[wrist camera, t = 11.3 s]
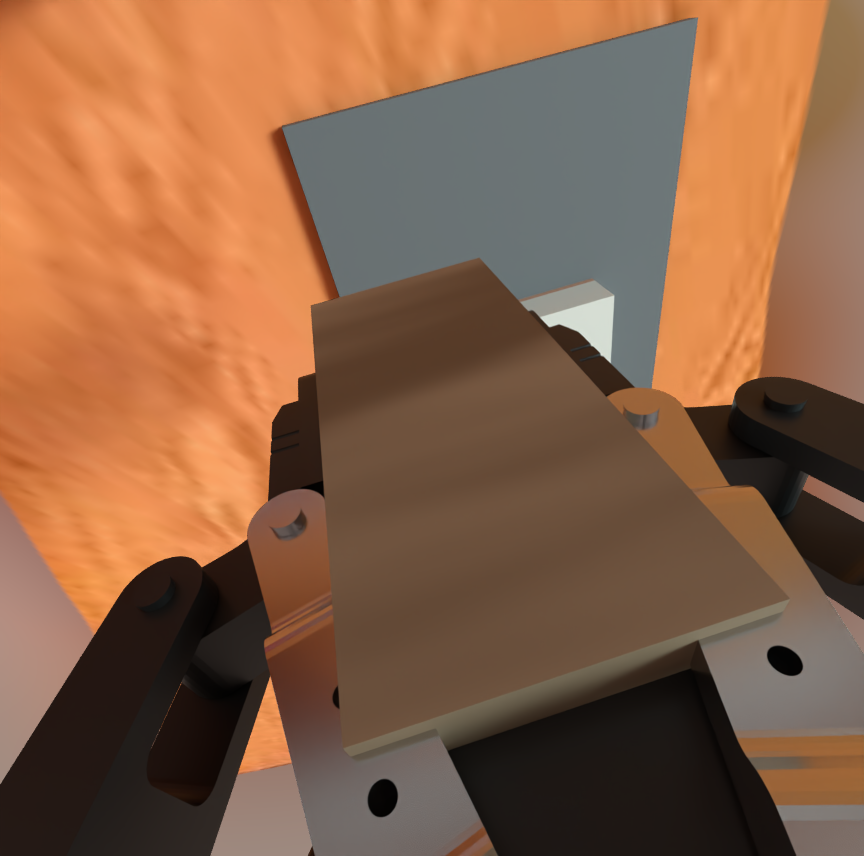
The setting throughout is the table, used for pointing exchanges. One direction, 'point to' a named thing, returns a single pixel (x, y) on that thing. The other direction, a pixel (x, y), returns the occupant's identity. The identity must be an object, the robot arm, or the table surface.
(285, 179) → the table surface
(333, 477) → the block
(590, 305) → the tile
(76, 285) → the table surface
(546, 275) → the mat
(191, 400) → the table surface
